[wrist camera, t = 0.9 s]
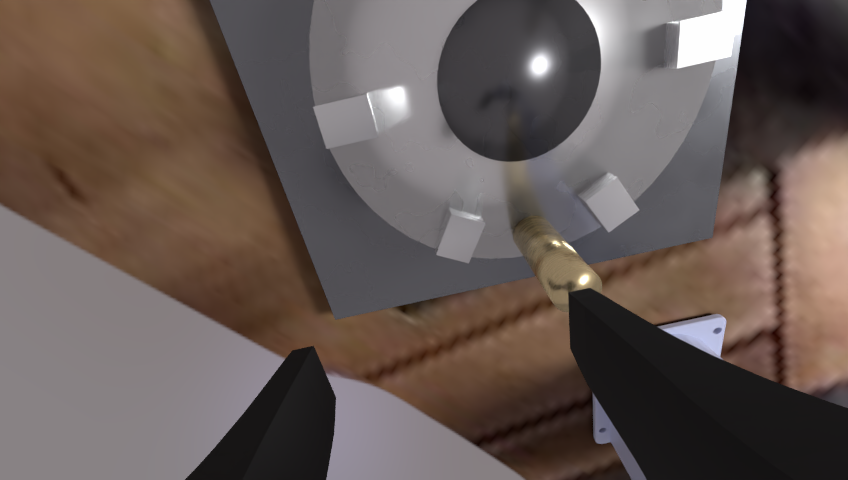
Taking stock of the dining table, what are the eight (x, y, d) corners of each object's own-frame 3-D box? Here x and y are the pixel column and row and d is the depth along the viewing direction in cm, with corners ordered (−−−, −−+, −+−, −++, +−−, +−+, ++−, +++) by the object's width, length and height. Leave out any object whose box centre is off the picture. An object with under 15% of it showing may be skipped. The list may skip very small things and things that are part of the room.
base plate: (698, 229, 21) (713, 238, 20) (337, 308, 21) (334, 320, 20) (770, -345, 12) (804, -381, 11) (148, -186, 12) (126, -207, 11)
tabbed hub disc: (660, 197, 18) (793, 270, 12) (375, 260, 19) (367, 361, 13) (690, -210, 12) (987, -468, 6) (263, -104, 13) (143, -249, 6)
